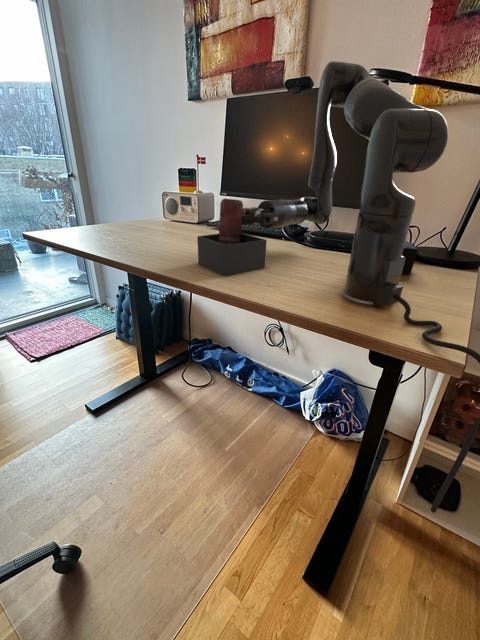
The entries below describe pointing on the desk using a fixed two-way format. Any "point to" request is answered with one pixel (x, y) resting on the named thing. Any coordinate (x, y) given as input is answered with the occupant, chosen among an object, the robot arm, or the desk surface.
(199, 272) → the desk surface
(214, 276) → the desk surface
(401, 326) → the desk surface
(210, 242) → the bin
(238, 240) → the can
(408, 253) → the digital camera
